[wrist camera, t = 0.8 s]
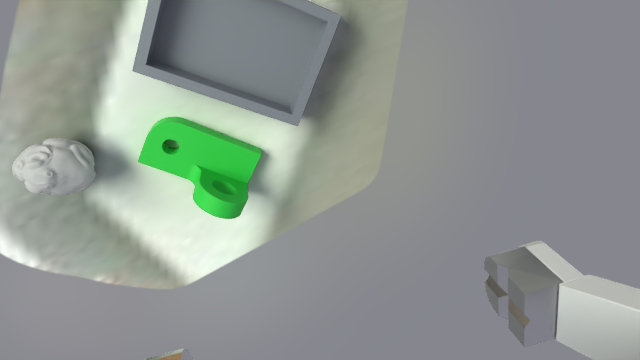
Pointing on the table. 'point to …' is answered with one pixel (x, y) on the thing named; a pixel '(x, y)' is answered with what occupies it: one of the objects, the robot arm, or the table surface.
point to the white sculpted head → (55, 167)
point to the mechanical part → (204, 163)
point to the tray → (239, 50)
